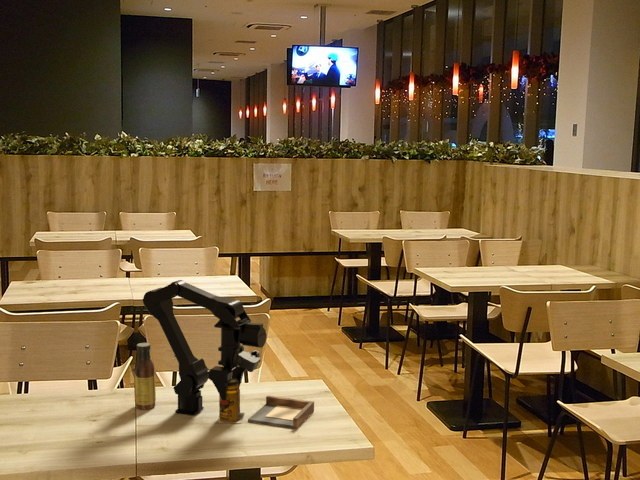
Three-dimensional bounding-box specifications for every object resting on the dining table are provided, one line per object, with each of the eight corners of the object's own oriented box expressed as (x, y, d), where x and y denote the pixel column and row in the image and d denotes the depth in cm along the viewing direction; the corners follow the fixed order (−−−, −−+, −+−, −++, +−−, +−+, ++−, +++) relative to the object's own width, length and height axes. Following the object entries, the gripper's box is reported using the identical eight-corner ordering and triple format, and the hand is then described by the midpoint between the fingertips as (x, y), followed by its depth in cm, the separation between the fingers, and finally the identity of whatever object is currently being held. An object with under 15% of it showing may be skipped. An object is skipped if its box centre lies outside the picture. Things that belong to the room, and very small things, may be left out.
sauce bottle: (142, 402, 246) (141, 340, 243) (159, 405, 244) (159, 342, 241) (130, 409, 240) (129, 345, 237) (147, 412, 238) (146, 347, 235)
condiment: (215, 423, 230) (215, 383, 228) (220, 412, 239) (220, 374, 237) (240, 424, 230) (241, 384, 228) (244, 413, 238) (245, 374, 237)
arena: (248, 421, 231) (248, 412, 231) (267, 404, 246) (267, 395, 245) (297, 428, 227) (297, 418, 226) (314, 411, 241) (314, 401, 241)
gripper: (243, 354, 220) (242, 408, 222) (268, 338, 237) (267, 388, 239) (206, 350, 223) (206, 403, 225) (234, 334, 241) (234, 383, 243)
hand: (230, 394), depth 233 cm, fingers open, 9 cm apart
